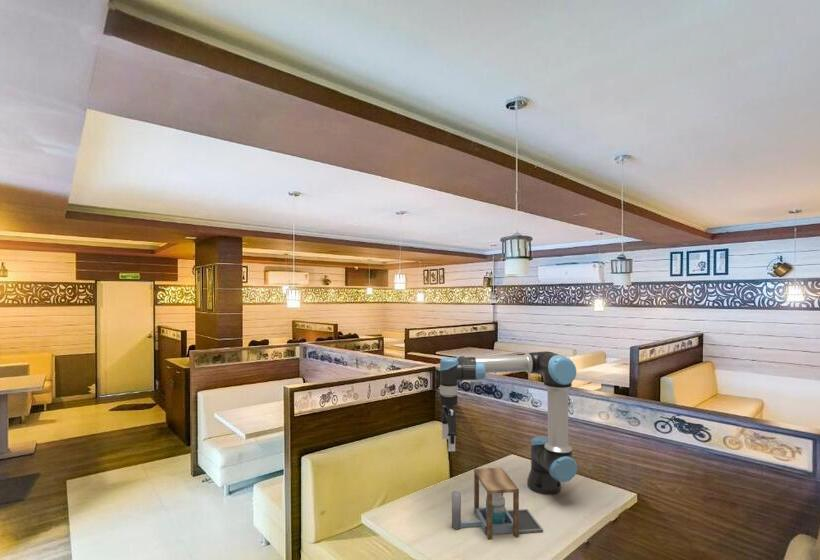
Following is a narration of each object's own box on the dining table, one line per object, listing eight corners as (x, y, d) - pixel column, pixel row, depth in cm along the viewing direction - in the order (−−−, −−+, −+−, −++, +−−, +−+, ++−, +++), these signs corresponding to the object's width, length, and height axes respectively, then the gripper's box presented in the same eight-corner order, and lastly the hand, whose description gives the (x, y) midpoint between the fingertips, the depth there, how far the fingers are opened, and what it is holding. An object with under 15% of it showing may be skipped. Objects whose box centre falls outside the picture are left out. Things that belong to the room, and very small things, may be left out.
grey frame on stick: (504, 513, 174) (504, 482, 174) (516, 532, 161) (516, 498, 161) (448, 517, 171) (448, 485, 171) (455, 537, 158) (455, 502, 158)
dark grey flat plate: (527, 511, 176) (527, 509, 176) (543, 532, 161) (543, 529, 161) (504, 513, 175) (504, 510, 175) (518, 534, 160) (518, 531, 160)
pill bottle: (483, 519, 170) (483, 486, 170) (501, 518, 171) (501, 485, 171) (488, 530, 163) (488, 495, 163) (507, 529, 163) (507, 494, 164)
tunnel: (501, 510, 177) (501, 467, 177) (518, 537, 158) (518, 488, 158) (474, 512, 175) (474, 469, 176) (488, 539, 157) (488, 490, 157)
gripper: (434, 387, 190) (434, 434, 190) (445, 403, 165) (445, 457, 165) (451, 387, 191) (450, 434, 190) (464, 402, 166) (464, 456, 166)
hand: (448, 444), depth 178 cm, fingers open, 13 cm apart
